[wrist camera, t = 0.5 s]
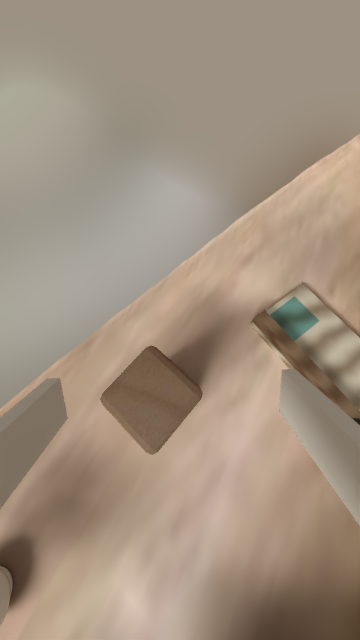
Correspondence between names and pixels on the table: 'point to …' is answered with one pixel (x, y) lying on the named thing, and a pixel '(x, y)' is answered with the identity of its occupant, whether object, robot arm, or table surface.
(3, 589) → the flower vase
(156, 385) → the wooden block
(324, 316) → the marking board
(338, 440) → the robot arm
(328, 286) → the table surface
